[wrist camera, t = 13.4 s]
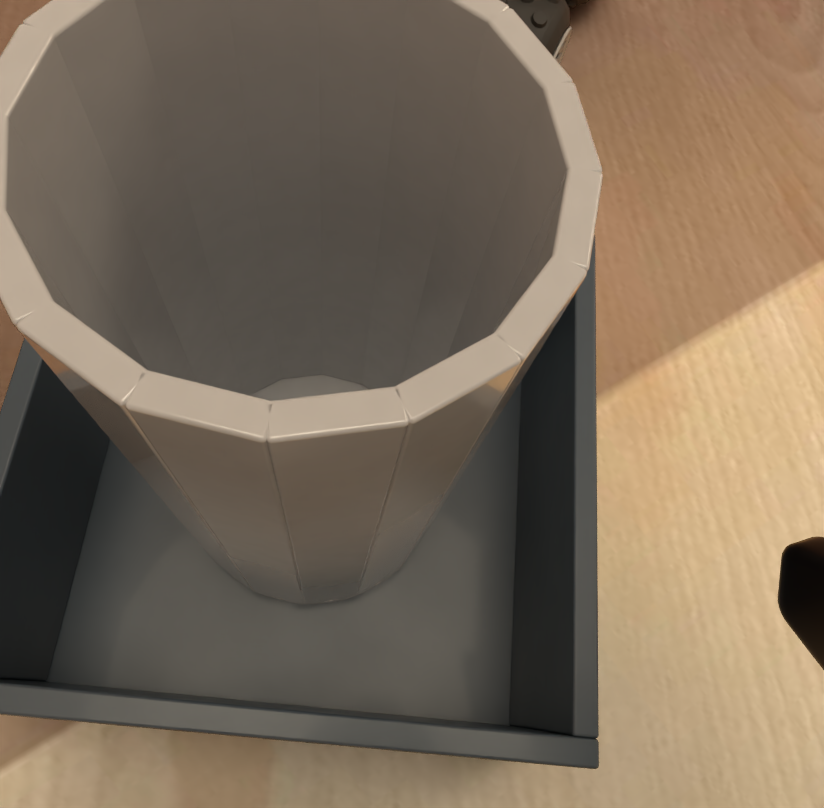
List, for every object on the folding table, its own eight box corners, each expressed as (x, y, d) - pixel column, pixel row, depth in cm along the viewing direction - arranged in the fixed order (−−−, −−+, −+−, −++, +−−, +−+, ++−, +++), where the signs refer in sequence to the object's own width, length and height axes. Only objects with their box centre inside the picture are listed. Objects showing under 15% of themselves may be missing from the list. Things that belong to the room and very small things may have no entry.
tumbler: (479, 522, 20) (720, 250, 8) (265, 655, 18) (137, 577, 6) (356, 336, 21) (396, -131, 9) (150, 440, 19) (-135, 30, 7)
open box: (522, 748, 18) (599, 769, 13) (28, 702, 17) (-98, 705, 12) (534, 324, 23) (595, 215, 18) (143, 272, 22) (86, 142, 17)
